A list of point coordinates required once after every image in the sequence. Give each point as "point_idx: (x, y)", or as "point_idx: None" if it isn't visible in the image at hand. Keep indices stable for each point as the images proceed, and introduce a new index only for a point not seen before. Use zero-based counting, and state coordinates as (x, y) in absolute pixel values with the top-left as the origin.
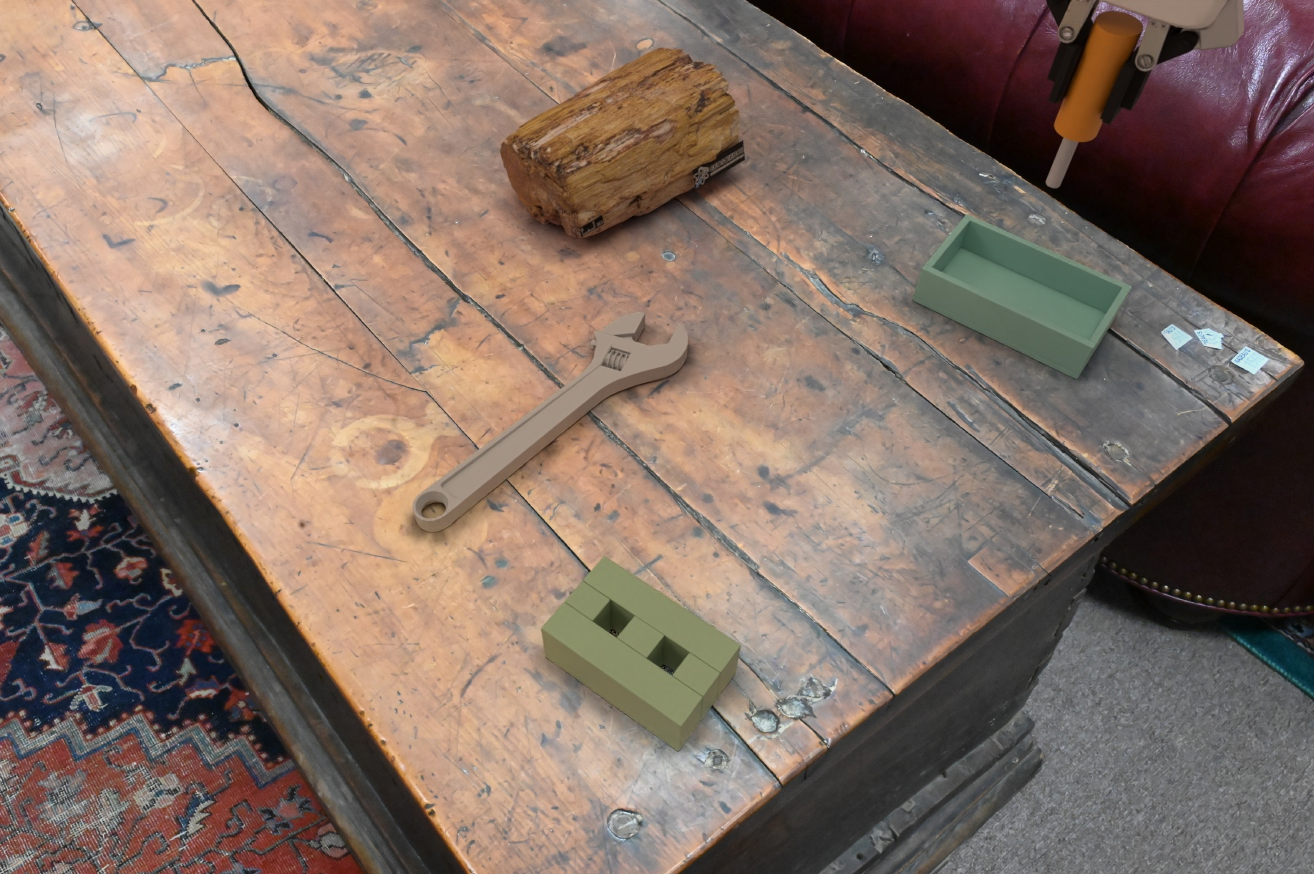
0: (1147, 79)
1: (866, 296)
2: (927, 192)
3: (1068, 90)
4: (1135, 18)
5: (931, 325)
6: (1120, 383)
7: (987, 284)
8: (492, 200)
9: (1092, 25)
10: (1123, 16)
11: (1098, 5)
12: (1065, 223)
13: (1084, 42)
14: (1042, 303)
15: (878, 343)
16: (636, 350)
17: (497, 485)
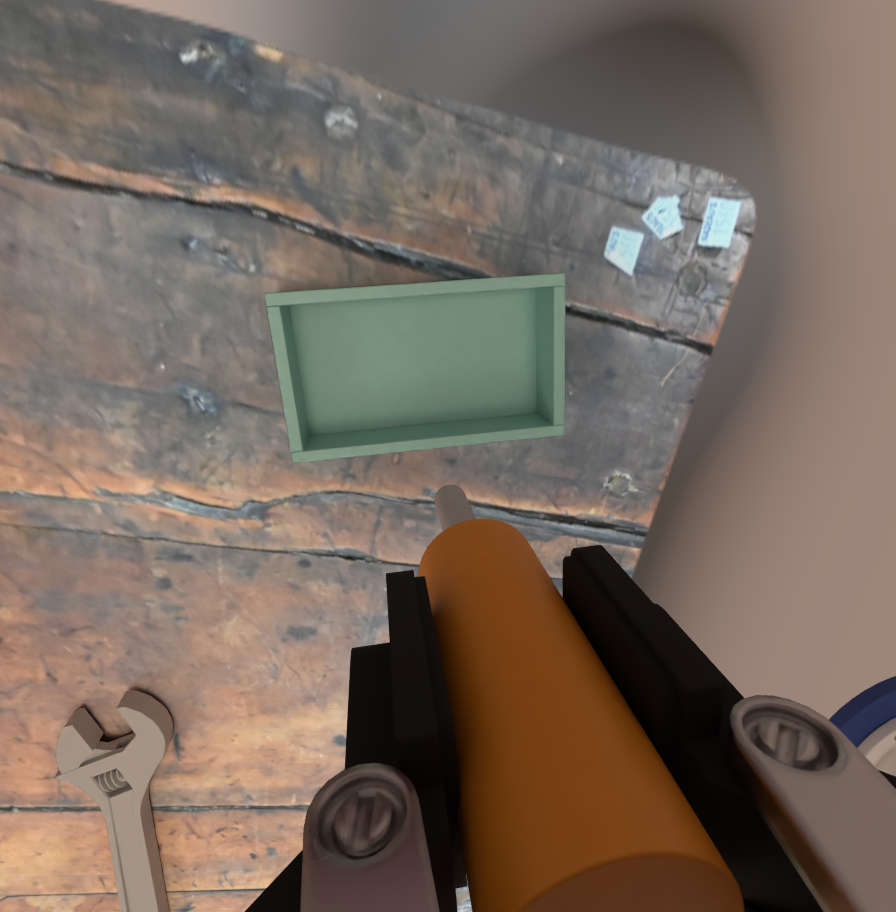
0: (697, 651)
1: (249, 478)
2: (148, 190)
3: None
4: (682, 872)
5: (350, 463)
6: (589, 385)
7: (368, 351)
8: None
9: (450, 842)
10: (612, 890)
11: (435, 893)
12: (385, 94)
13: (453, 834)
14: (450, 332)
15: (317, 534)
16: (119, 764)
17: (167, 901)
